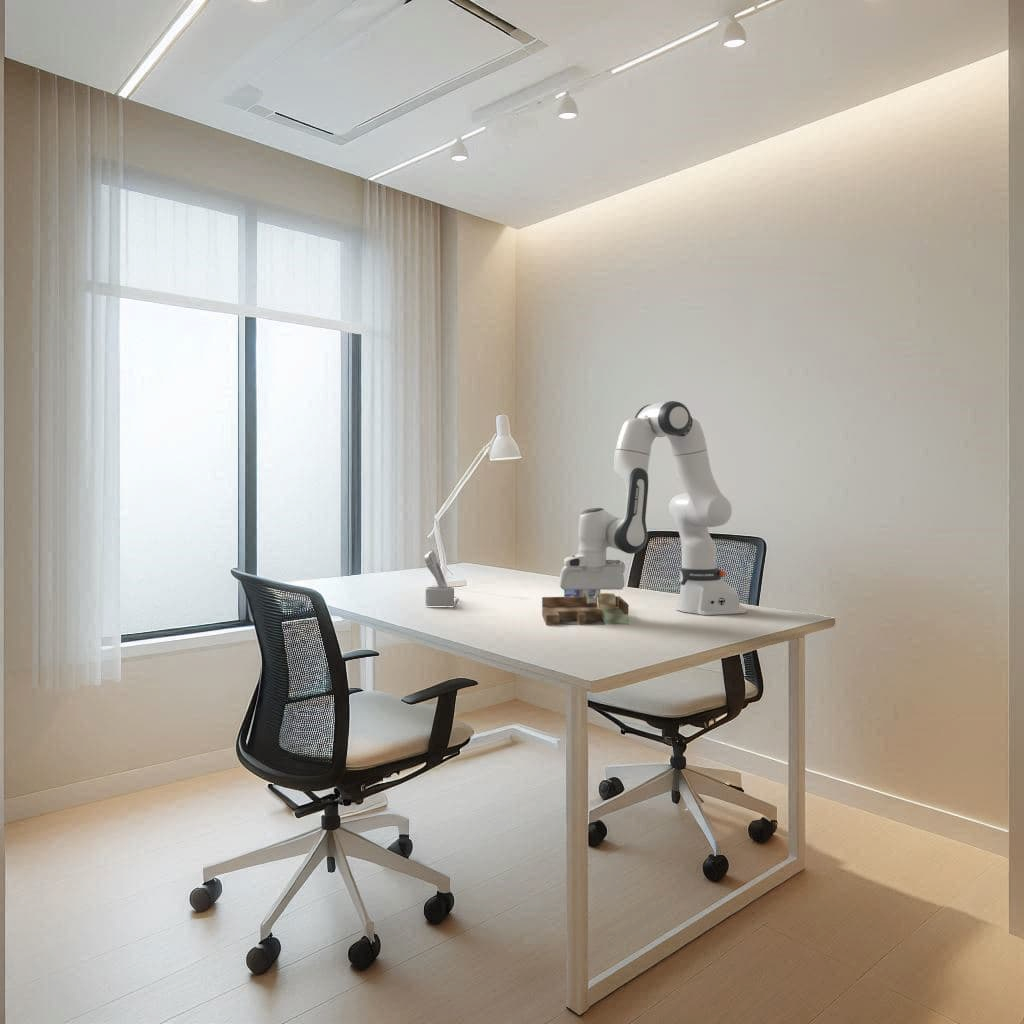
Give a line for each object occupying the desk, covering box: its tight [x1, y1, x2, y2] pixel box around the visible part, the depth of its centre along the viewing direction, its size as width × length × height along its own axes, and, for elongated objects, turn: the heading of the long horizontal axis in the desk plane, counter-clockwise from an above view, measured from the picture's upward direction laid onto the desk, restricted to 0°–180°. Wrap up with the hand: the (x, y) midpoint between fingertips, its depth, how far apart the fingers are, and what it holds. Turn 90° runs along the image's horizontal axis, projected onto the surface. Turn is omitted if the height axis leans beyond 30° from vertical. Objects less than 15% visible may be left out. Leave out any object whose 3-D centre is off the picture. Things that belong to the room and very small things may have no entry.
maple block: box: [597, 592, 617, 610], centre depth 244 cm, size 5×5×4 cm
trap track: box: [541, 595, 630, 626], centre depth 241 cm, size 25×15×6 cm, turn 92°
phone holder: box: [424, 550, 459, 606], centre depth 270 cm, size 17×10×18 cm, turn 179°
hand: (591, 603), depth 244 cm, fingers closed
